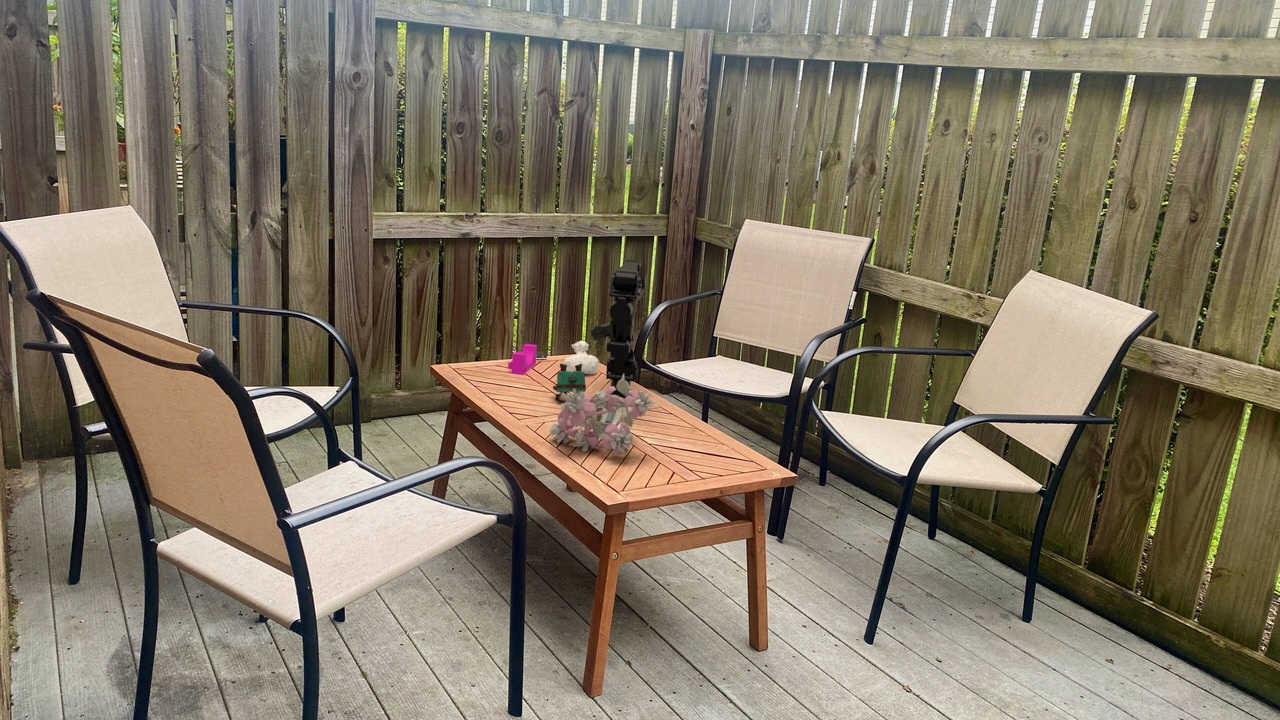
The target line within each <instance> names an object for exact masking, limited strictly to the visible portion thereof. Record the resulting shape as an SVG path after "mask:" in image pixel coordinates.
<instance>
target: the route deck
mask: <svg viewBox="0 0 1280 720" xmlns="http://www.w3.org/2000/svg"><path fill="white" fill-rule="evenodd" d="M581 392H582V391H578V393H577V394H578V395H579V396H580V394H581ZM616 396H619V395H616ZM623 408H624V407H622V408H618V409H616V410H615V412H608V413H605V414H603V415H602V418H601V420H600V422H599V423H611V424H616V423H617V421H618V420H619V418H620V417H621V412H622V409H623ZM603 410H605V408H603ZM570 416H572V413H571V414H570ZM623 422H624V421H623V420H622V422H621V423H620V424H619V425H618V426H617V428H618V429H619V431H620V429H621V424H622V423H623ZM557 424H558V423H557ZM623 424H624V423H623ZM558 425H559V424H558ZM577 427H582V429H583V432H582V433H584V434H585V432H584V429H585V424H583V425H577V426H576V425H575V426H574V427H573V428H572V429H576V428H577ZM583 427H584V428H583ZM592 431H593V429H592V430H591V431H590V432H592ZM603 437H610V436H608V435H607V434H606V433H602V434H600V435H599V437H598V439H599V440H600V439H601V440H602V439H603Z"/></svg>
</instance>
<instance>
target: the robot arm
mask: <svg viewBox="0 0 1280 720" xmlns="http://www.w3.org/2000/svg"><path fill="white" fill-rule="evenodd" d="M646 284H647V271H646V270H645V269H644V268H643V266H641V261H639V260H636V259H625V260H623V263H622V265H621V266H620V267H619V268H617V269H615V270H614V273H612V274H611V280H610V287H609V297H612V298H613V303H612V304H611V306H610V309H609V316H610V318H611V319H610V322H607V323H603V324H598V325H594V326H592V327H591V328H590V337H592V340H593V341H594V342H595V341H598V340H599V339H600V340H601V339H604V338H607V337H608V339H609V340H608V341H607V343H606V347H605V351H606V352H608V353H610V357H609V358H607V361H606V374H605V375H606V376H605V380H610V387H612V386H614V387H615V389H616V390H614V391H613V392H612V393H611V394H610V395H619V397H621V398H624V399H625V398H626V397H627V396H625V395H624V394H622V393H621V392H620V391H618V390H617V388H616V386H617V383H618V381H619V380H621V379H622V376H623V374H624V380H625V381H627V382H628V384H629V386H630V387H631V382H632V383H634V382H636V381H638V377H639V366H638V364H637V360H635V358H636V357H635V352H634V350H633V347H632V346H633V345H632V342H634V339H635V332H634V323H635V317H636V316H635V315H636V309H637V308H636V307H637V303H638V302H639V300H640V299H641V298H642V297H643V292H644V290H646V286H647V285H646Z"/></svg>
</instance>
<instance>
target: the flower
mask: <svg viewBox="0 0 1280 720" xmlns="http://www.w3.org/2000/svg"><path fill="white" fill-rule="evenodd" d="M616 388H617V390H618V391H620V392H621V393H622V394H624V395H625V396H627V397H626V398H625V399H624V398H621V397H619V396H616V395H610V394H611V393H612V392H613V391H614V390H616V389H615V387H614V386H612V387H611V386H609V387H607V388H606V390H605V391H604V390H603V389H601V390H597V391H595V394H594V395H593V397H595V398H593V397H592V396H591V395H590V394H587V393H585V392H583V391H582V392H581V394H580V396H579V395H578V394H577V391H576V390H575V389H573V392H569V393H567V395H566V394H564V393H563V392H562V394H561V398H564V399H566V400H565V401H564V403H560V407H561V411H560V412H559V413H558V414H557V423H554V424H552V425H551V427H550V428H549V436H551V437H552V439H551V440H550V441H554V440H556V442H557V444H558V445H559V444H560V443H561V442H562V443H563V444H567V443H568V442H569V441H570V438H573V440H577V441H575V442H572V443H568V444H569V446H572V445H573V444H575V446H576V447H577V448H579V447H581V451H582V452H588V450H589V446H591V448H592V449H594V450H600V448H601V447H602V448H603V449H605V450H609V449H612V452H611V454H612V455H616V456H617V455H618V456H620V455H623V453H625V452H626V451H628V450H630V449H631V448H632V447H633V444H632V443H633V438H634V435H633V433H632V432H631V429H630V428H633V422H634V419H636V418H639V417H643V416H645V414H646V412H647V411H650V410H652V408H651V406H652V407H653V406H654V405H653V403H655V401H654V399H650V397H652V394H651V393H650V392H646V394H645V391H643V390H641V391H638V389H631V385H630V386H629V384H628V382H627V381H625V380H624V374H623V376H622V379H621V380H619V381H618V383H617V386H616ZM573 395H574V396H573ZM592 401H594V402H595V403H596V402H597V403H596V404H595V403H591V402H592ZM622 407H624V408H623V409H622V412H621V417H620V418H619V420H618V421H617V423H616V424H611V423H599V422H598V421H597V416H600V415H603V414H605V413H608V412H615V410H616V409H618V408H622ZM632 407H633V408H632ZM597 408H605V410H602V411H599V412H596V411H597ZM571 413H572V416H570V414H571ZM622 420H623V422H624V423H622V424H621V429H620V431H619V429H618V428H617V426H618V425H619V424H620V423H621V422H622ZM558 424H559V425H558ZM583 424H585V427H584V432H585V434H584V433H582V432H583V429H582V428H583V426H580V427H578V426H577V425H583ZM575 425H576V426H575ZM573 427H574V428H576V429H572V428H573ZM592 429H593V431H592V432H590V431H591V430H592ZM602 433H606V434H607V435H608V436H610V437H603V439H601V441H600V438H598V437H599V435H600V434H602ZM600 442H601V444H599V443H600Z"/></svg>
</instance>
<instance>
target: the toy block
mask: <svg viewBox="0 0 1280 720" xmlns="http://www.w3.org/2000/svg"><path fill="white" fill-rule="evenodd" d="M537 348H538V345H537V344H530V343H524V345H523V347H522V352H520V351H517V352H514V353H512V360H511V361H507V362H508V363H507V364H508V366H507V369H508V370H511V374H512V375H521V376H524V375H526V373H527V372H529V371H530V370H531V369H532V368H533V367H534V366H535V365H536V364H537V360H536V352H538V351H537Z"/></svg>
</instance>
